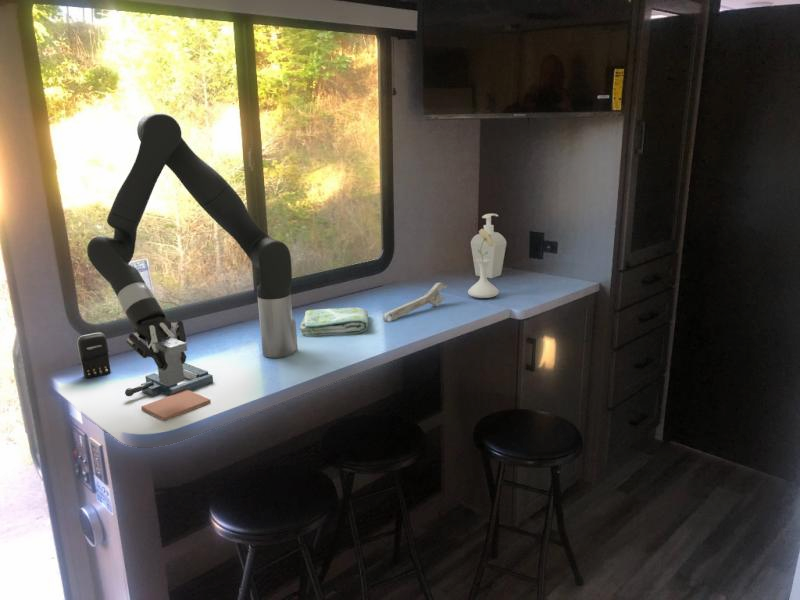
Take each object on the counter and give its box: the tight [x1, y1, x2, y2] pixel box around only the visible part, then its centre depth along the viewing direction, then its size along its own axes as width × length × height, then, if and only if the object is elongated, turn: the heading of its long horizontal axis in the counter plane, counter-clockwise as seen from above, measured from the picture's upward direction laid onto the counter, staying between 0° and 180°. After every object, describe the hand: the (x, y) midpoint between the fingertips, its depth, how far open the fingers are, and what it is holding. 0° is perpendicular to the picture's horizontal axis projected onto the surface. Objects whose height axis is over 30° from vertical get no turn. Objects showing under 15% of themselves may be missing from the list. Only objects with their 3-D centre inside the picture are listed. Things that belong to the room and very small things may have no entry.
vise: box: [124, 362, 214, 397], centre depth 158 cm, size 20×13×3 cm, turn 140°
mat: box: [140, 390, 211, 422], centre depth 148 cm, size 12×10×1 cm
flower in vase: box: [467, 228, 500, 299], centre depth 231 cm, size 13×11×25 cm
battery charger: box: [76, 332, 112, 379], centre depth 168 cm, size 7×4×11 cm, turn 124°
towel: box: [299, 306, 369, 337], centre depth 204 cm, size 18×21×5 cm
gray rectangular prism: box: [156, 338, 188, 386], centre depth 145 cm, size 4×7×10 cm, turn 50°
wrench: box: [382, 282, 448, 323], centre depth 216 cm, size 8×2×30 cm
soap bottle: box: [470, 213, 507, 279], centre depth 263 cm, size 12×10×26 cm
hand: (174, 364), depth 144 cm, fingers closed on gray rectangular prism, 4 cm apart
